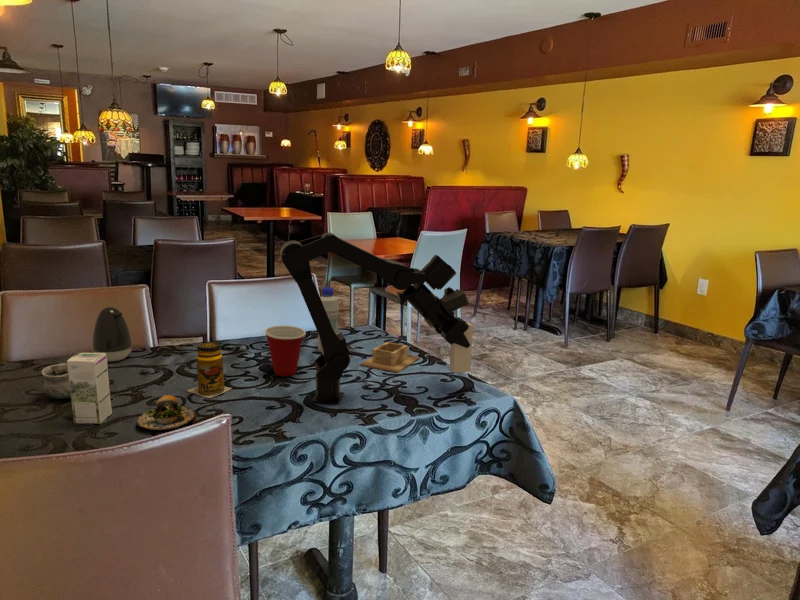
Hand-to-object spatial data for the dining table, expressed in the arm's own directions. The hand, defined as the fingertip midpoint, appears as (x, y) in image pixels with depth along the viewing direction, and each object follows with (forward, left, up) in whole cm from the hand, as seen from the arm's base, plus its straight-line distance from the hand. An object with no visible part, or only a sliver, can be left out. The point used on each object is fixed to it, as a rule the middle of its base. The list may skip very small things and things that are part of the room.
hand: (466, 344), depth 144 cm
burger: (-34, +62, -12) cm, 72 cm away
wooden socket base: (+16, +22, -12) cm, 30 cm away
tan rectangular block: (-1, +1, -7) cm, 7 cm away
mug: (-25, +91, -12) cm, 95 cm away
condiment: (-15, +62, -12) cm, 65 cm away
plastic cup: (+1, +48, -12) cm, 50 cm away
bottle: (+21, +42, -12) cm, 49 cm away
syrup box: (-36, +78, -12) cm, 87 cm away
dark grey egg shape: (+1, +99, -12) cm, 100 cm away
